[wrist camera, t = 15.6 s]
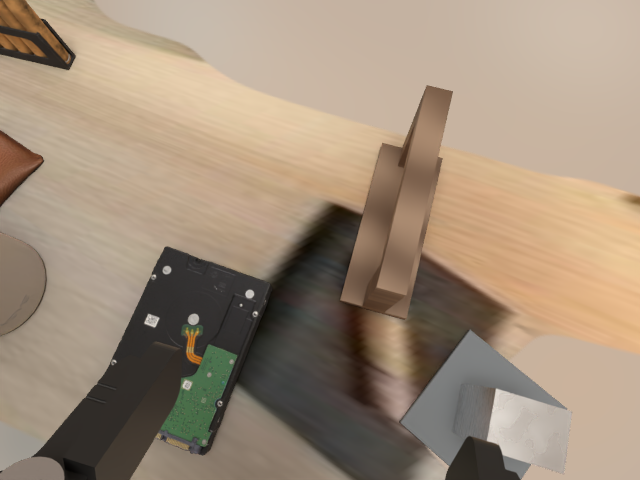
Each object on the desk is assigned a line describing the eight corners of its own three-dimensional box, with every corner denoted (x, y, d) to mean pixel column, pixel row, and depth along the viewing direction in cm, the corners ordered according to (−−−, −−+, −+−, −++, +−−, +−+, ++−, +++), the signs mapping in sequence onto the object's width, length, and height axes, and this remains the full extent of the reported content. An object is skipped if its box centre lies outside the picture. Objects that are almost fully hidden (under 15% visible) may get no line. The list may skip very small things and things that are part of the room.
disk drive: (172, 252, 41) (101, 410, 37) (162, 244, 39) (84, 413, 35) (274, 287, 40) (212, 453, 36) (271, 281, 38) (204, 459, 34)
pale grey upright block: (514, 451, 36) (563, 474, 28) (451, 431, 36) (485, 449, 29) (522, 401, 37) (572, 411, 29) (461, 383, 37) (496, 388, 30)
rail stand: (404, 319, 39) (436, 303, 28) (339, 301, 39) (347, 279, 29) (439, 162, 43) (479, 97, 32) (381, 147, 43) (401, 79, 33)
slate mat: (399, 421, 37) (400, 422, 36) (468, 330, 39) (470, 329, 38) (497, 509, 35) (500, 511, 34) (564, 408, 37) (567, 409, 36)
